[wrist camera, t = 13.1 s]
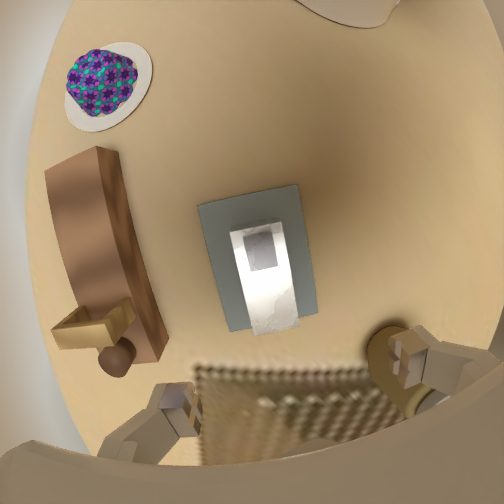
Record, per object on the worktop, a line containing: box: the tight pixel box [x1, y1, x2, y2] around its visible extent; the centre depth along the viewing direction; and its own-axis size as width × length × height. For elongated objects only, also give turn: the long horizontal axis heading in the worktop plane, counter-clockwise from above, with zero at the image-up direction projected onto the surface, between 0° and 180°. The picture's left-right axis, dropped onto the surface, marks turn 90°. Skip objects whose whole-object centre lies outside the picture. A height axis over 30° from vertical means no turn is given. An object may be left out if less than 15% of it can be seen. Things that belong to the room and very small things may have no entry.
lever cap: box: [230, 217, 300, 336], centre depth 25 cm, size 10×4×5 cm, turn 12°
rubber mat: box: [197, 184, 318, 332], centre depth 28 cm, size 14×10×1 cm
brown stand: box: [44, 146, 169, 378], centre depth 22 cm, size 22×7×11 cm, turn 12°
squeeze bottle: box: [367, 326, 452, 419], centre depth 23 cm, size 8×8×18 cm
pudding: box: [65, 42, 152, 132], centre depth 21 cm, size 12×12×5 cm
